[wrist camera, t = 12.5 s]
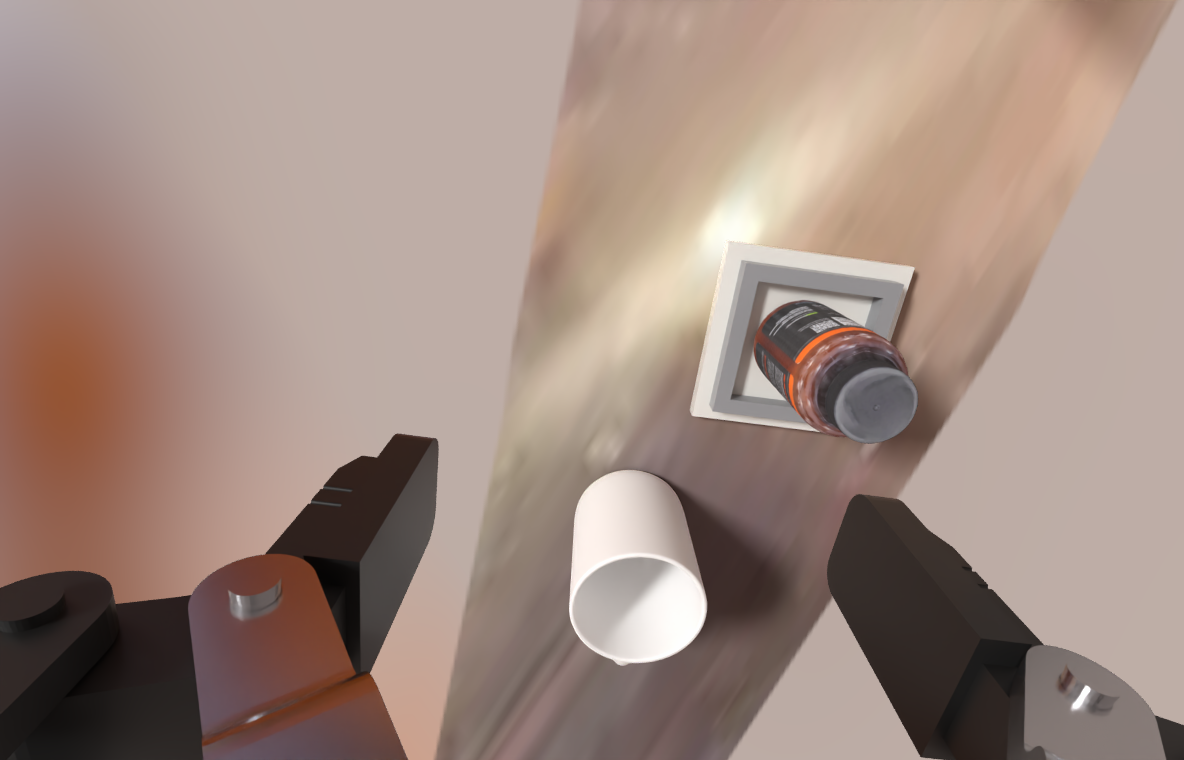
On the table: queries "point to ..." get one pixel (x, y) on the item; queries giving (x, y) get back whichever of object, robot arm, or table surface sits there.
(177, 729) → the robot arm
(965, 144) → the table surface
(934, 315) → the table surface
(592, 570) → the mug
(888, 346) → the supplement bottle
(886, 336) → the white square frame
